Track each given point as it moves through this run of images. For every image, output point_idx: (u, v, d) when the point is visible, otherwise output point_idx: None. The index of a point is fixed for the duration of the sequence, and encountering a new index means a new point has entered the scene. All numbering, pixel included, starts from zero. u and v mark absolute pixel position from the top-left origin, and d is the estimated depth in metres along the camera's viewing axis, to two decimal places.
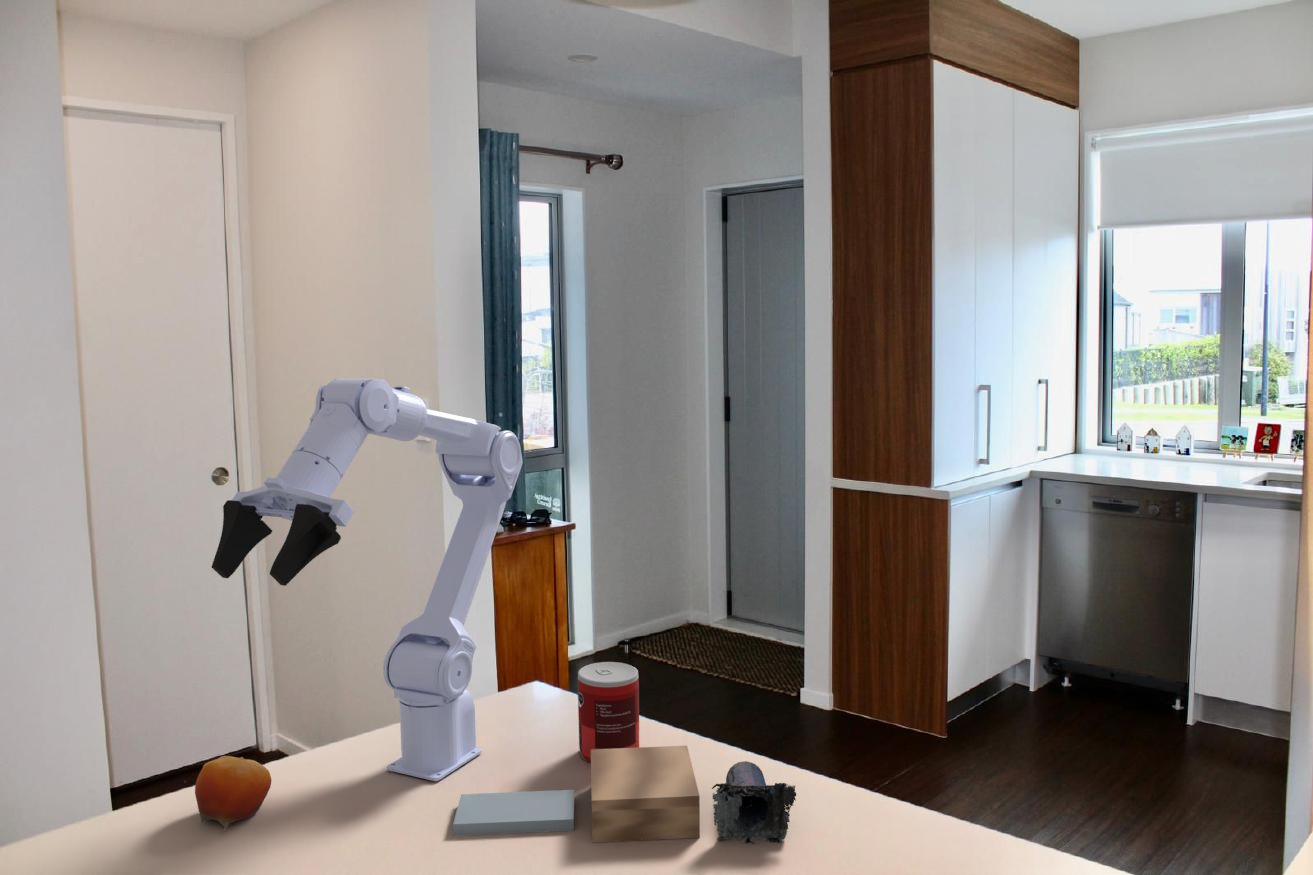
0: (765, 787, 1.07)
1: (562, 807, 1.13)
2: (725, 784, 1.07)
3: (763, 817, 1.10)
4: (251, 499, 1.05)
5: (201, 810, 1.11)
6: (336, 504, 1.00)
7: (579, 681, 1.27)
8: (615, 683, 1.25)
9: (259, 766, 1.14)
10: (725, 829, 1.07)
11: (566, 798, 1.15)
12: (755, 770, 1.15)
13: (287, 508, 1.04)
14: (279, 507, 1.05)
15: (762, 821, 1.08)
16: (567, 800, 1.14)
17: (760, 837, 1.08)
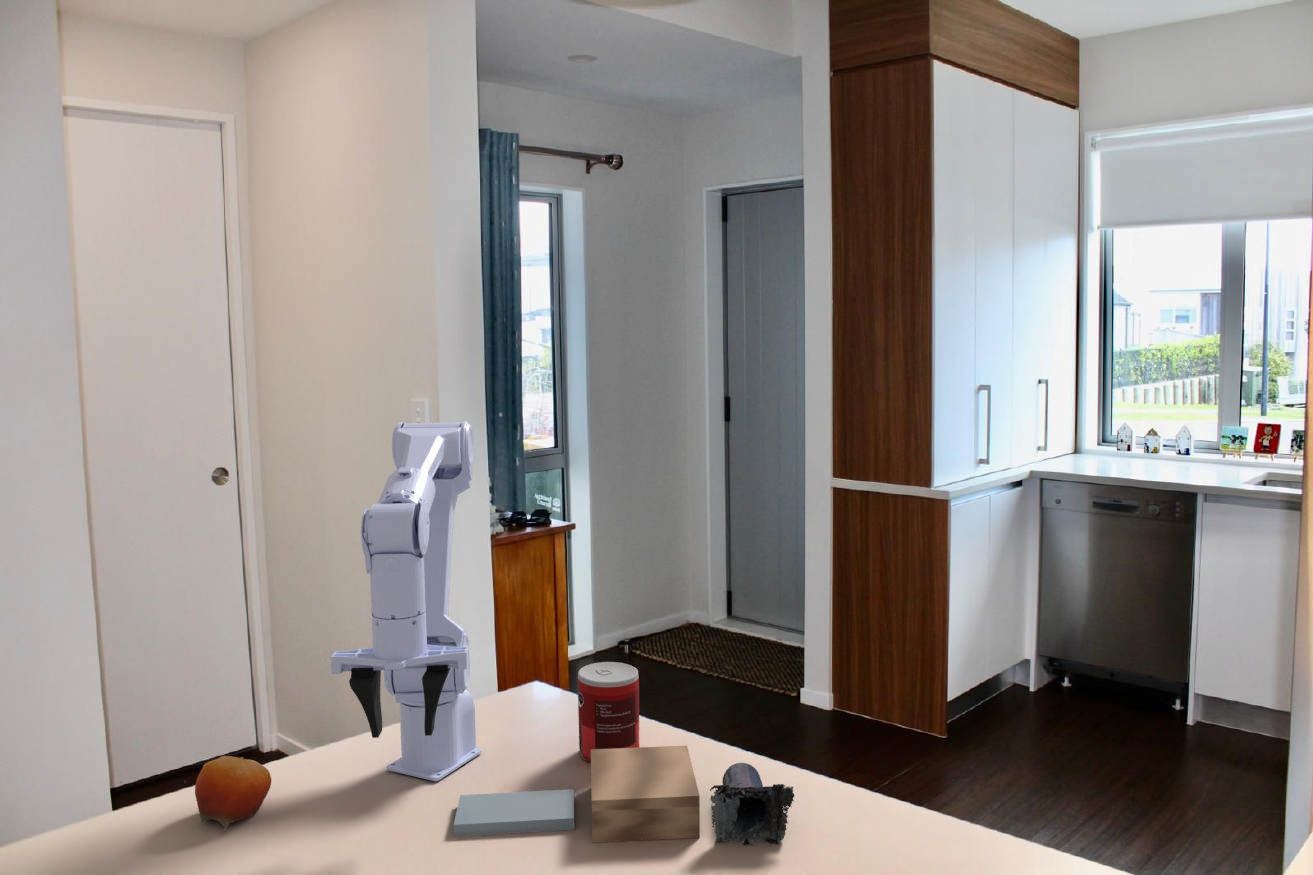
0: (763, 788, 1.07)
1: (562, 806, 1.13)
2: (723, 786, 1.06)
3: (761, 818, 1.09)
4: None
5: (201, 810, 1.11)
6: (460, 658, 1.09)
7: (579, 681, 1.27)
8: (615, 683, 1.25)
9: (259, 766, 1.14)
10: (723, 831, 1.07)
11: (566, 797, 1.15)
12: (752, 771, 1.15)
13: None
14: None
15: (760, 822, 1.08)
16: (566, 799, 1.14)
17: (758, 839, 1.07)
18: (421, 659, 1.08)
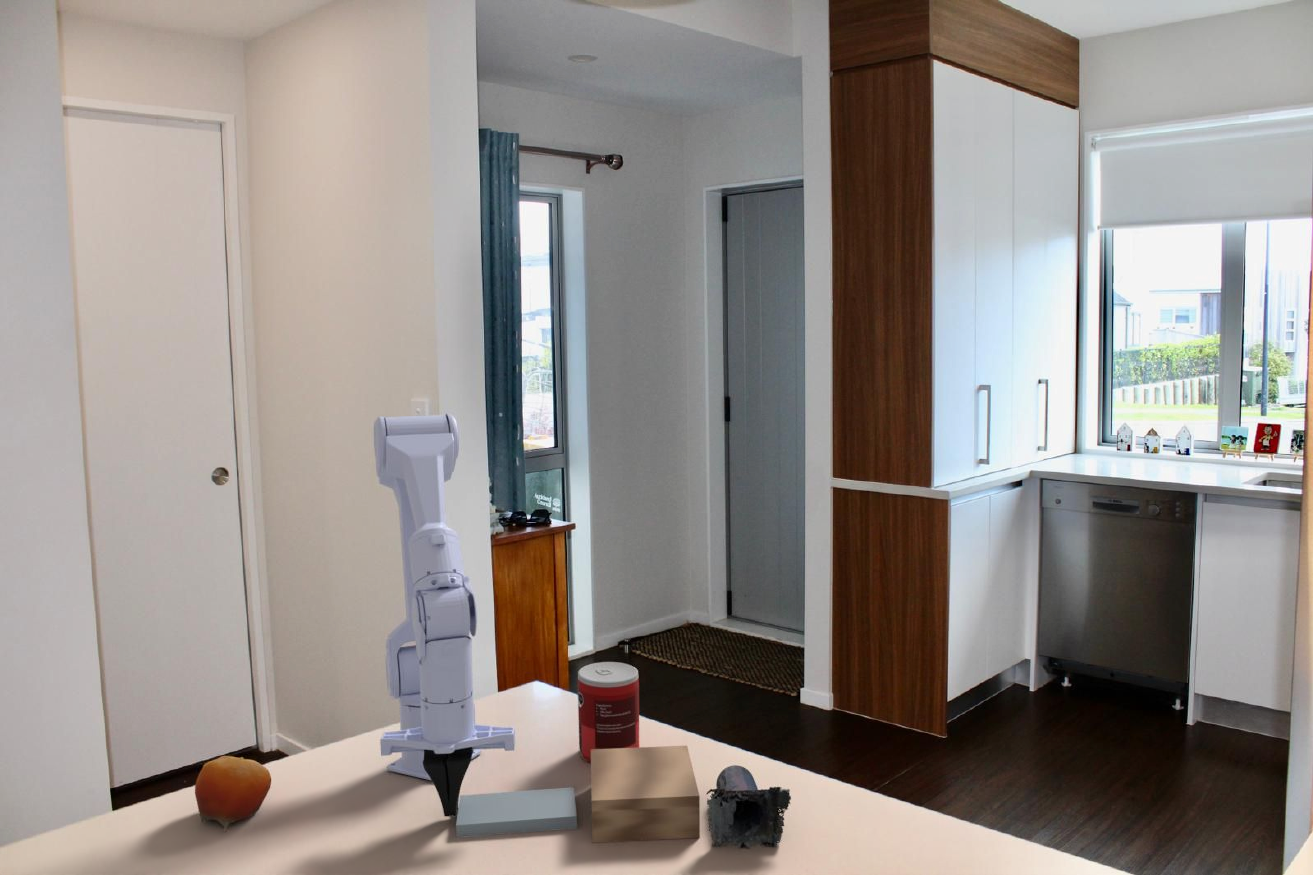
0: (760, 791, 1.06)
1: (563, 804, 1.13)
2: (719, 789, 1.06)
3: (757, 821, 1.09)
4: None
5: (201, 810, 1.11)
6: (507, 740, 1.11)
7: (579, 681, 1.27)
8: (615, 683, 1.25)
9: (259, 766, 1.14)
10: (720, 835, 1.06)
11: (566, 796, 1.15)
12: (746, 774, 1.14)
13: None
14: None
15: (756, 826, 1.07)
16: (567, 797, 1.15)
17: (754, 842, 1.07)
18: (470, 742, 1.09)
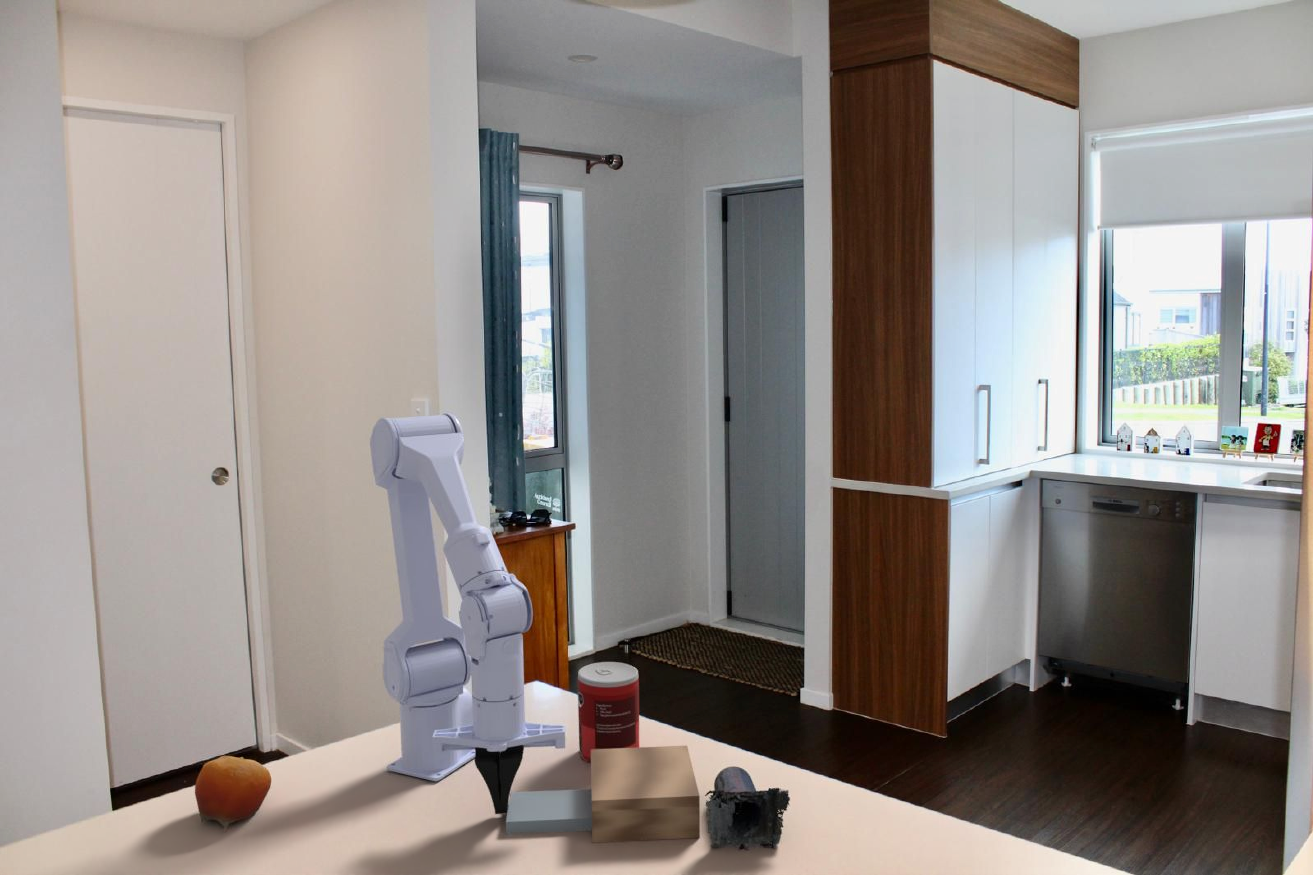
0: (758, 792, 1.06)
1: None
2: (718, 791, 1.05)
3: (755, 823, 1.09)
4: None
5: (201, 810, 1.11)
6: (558, 737, 1.11)
7: (579, 681, 1.27)
8: (615, 683, 1.25)
9: (259, 766, 1.14)
10: (719, 836, 1.06)
11: None
12: (744, 775, 1.14)
13: None
14: None
15: (755, 827, 1.07)
16: None
17: (753, 843, 1.07)
18: (521, 740, 1.10)
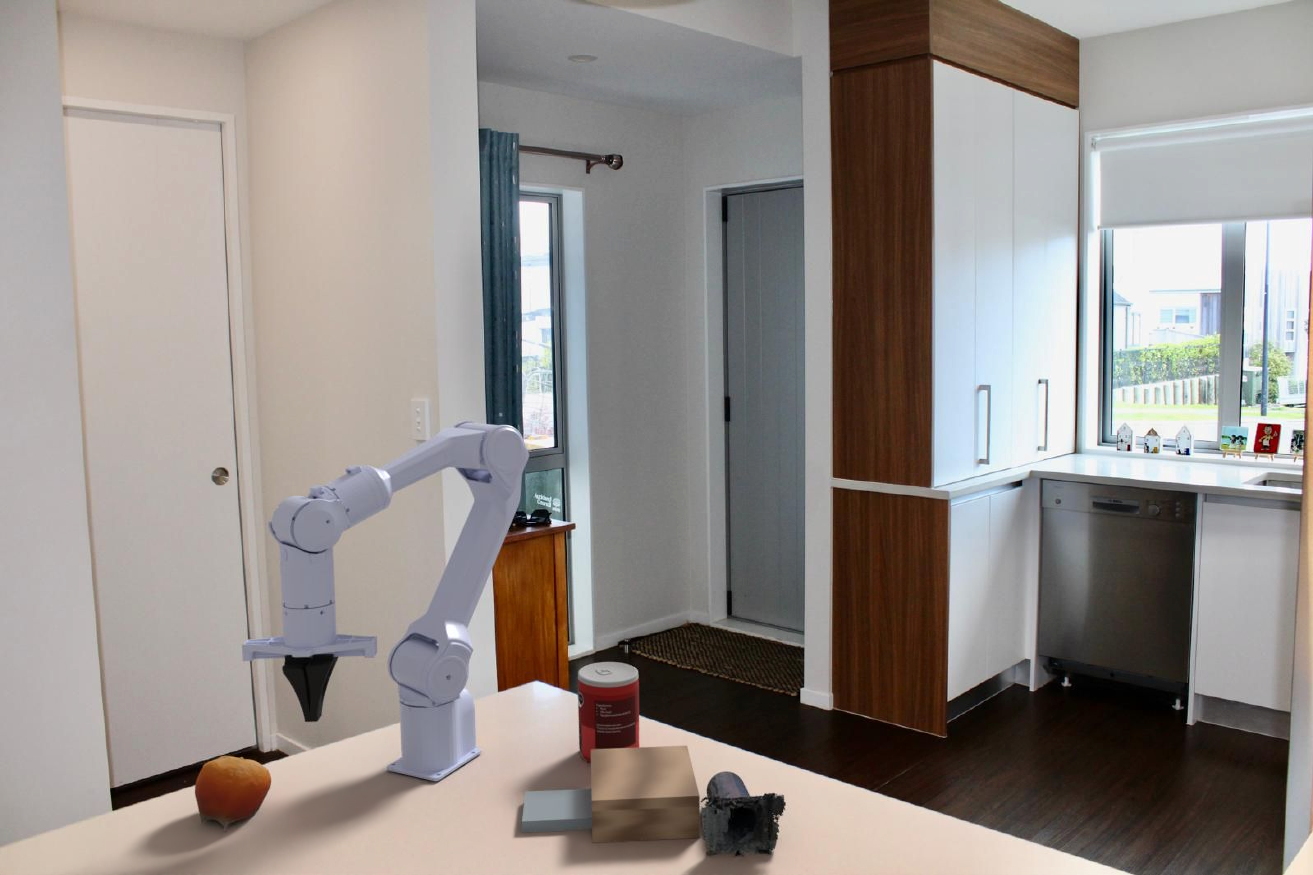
0: (754, 798, 1.05)
1: None
2: (714, 797, 1.04)
3: (750, 828, 1.07)
4: None
5: (201, 810, 1.11)
6: (367, 647, 1.14)
7: (579, 681, 1.27)
8: (615, 683, 1.25)
9: (259, 766, 1.14)
10: (714, 843, 1.04)
11: None
12: (737, 780, 1.12)
13: None
14: None
15: (750, 833, 1.06)
16: None
17: (749, 849, 1.05)
18: (328, 647, 1.12)
